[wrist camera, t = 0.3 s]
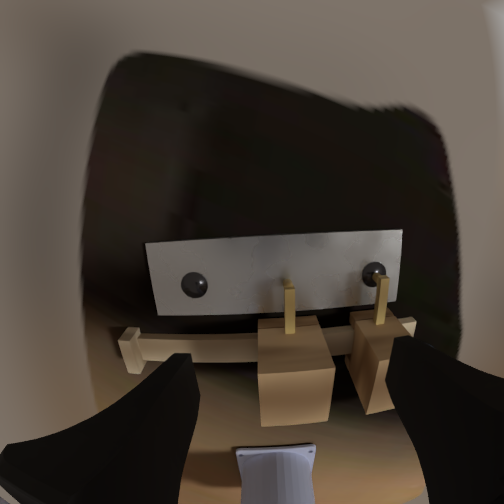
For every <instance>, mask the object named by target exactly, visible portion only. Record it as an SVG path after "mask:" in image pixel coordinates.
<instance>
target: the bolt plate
mask: <svg viewBox="0 0 504 504" xmlns="http://www.w3.org/2000/svg"><path fill="white" fill-rule="evenodd" d="M401 244H402V229H375V230H349V231H326V232H305V233H285V234H267V235H249V236H232V237H215V238H200V239H184V240H170V241H156V242H147V243H145V245H146V252H147V258H148V264H149V270H150V276H151V281H152V287H153V292H154V297H155V302H156V307H157V312H158V315H221V314H249V313H269V312H284V287H283V281H284V280H285V279H290V280H291V281H292V283H293V285H294V287H295V311H301V310H314V309H326V308H337V307H347V306H357V305H366V304H375V299H376V289H377V283H376V282H375V281H374V280H373V279H372V276H373V274H374V273H376V272H378V273H380V274H381V275H386V276H388V277H389V278H390V281H389V290H388V299H387V302H392V301H396V295H397V287H398V279H399V269H400V258H401Z"/></svg>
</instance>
